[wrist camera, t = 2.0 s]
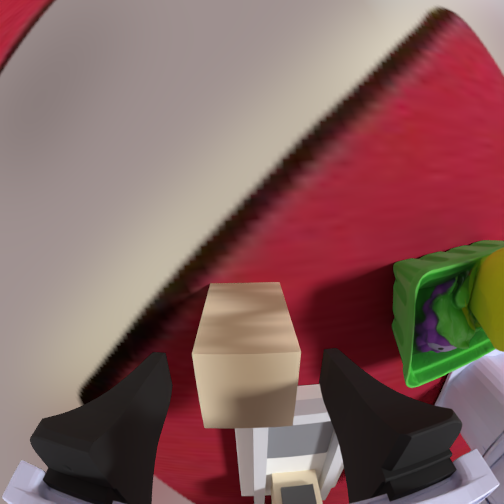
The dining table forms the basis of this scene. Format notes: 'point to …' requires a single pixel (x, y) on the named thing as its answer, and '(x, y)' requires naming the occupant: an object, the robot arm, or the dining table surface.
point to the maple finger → (246, 357)
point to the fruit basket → (448, 309)
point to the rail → (291, 455)
